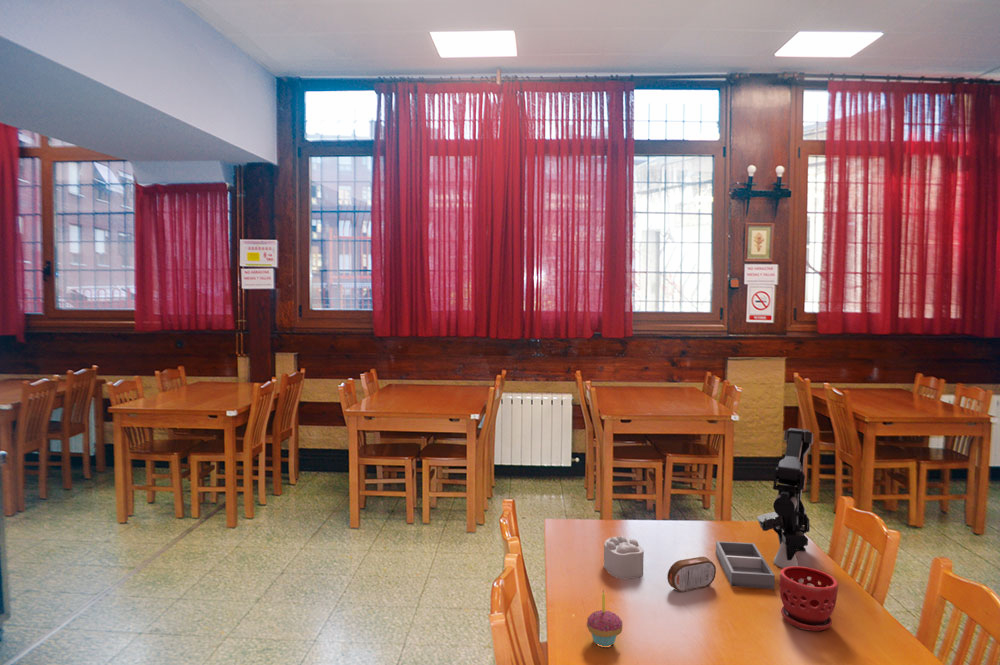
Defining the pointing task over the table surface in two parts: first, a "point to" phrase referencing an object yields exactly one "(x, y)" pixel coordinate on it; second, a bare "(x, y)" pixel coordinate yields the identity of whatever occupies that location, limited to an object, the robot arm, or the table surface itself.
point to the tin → (691, 574)
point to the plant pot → (807, 597)
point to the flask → (784, 558)
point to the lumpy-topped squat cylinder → (623, 557)
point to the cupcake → (604, 625)
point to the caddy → (744, 565)
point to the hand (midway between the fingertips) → (786, 556)
